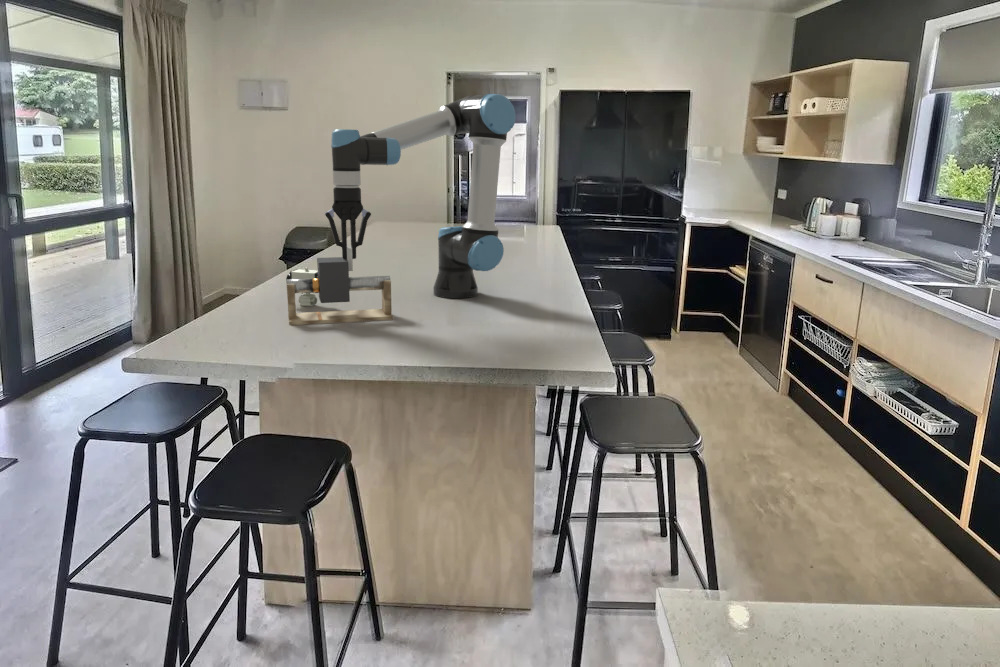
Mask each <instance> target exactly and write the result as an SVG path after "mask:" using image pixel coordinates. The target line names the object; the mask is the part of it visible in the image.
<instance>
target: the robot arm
mask: <svg viewBox="0 0 1000 667" xmlns="http://www.w3.org/2000/svg"><path fill="white" fill-rule="evenodd" d="M516 116H517V115H516V111H515V107H514V105H513V103H512V102H511V101H510V99H509V98H508V97H507V96H505V95H503V94H498V93H486V94H485V93H484V94H471V95H468V96H465V97H463V98H460V99H456V100H455V101H453V102H451V103H448V104H444V105H442V106H440V107H439V108H438V110H437V111H435V112H432V113H428V114H424V115H421V116H419V117H416V118H415V117H414V118H413V119H409V120H406V121H404V122H400V123H396V124H394V125H391V126H388V127H386V128H382V129H378V130H376V131H375V130H374V131H373V132H370V133H366V134H363V135H360V131H359V129H349V128H348V129H344V128H343V129H342V128H339V129H338V128H337V129H336V128H335V129H333V130H332V133H331V147H330V148H331V158H332V159H331V160H332V182H333V183H332V184H333V186H334V187H333V204H332V207H331V209H329V210H328V211H325V212H324V216H326V218H327V220H328V223H329V226H330V229H331V232H332V236H333V240H334V243H335V245H336V246H337V247H340V248H341V251H342V252H341V255H342V256H341V257H343V259H347V261H348V266H349V272H353V271H354V270H353V269H354V268H353V266H354V265H353V264H354V263H353V262H354V261H353V260H356V259H357V248H358V247H359V246H363V244H364V238H365V234H366V228H367V226H368V225H367V224H368V220H369V219H370V218H371V216H372V212H370V211H368V210H366V209H365V208H364V205H363V204H362V189H361V187H360V186H362V185H361V184H362V182H361V166H363V165H364V166H366V165H372V166H386V167H387V166H393V165H396V164H398V163H399V162H400V159H401V156H402V155H401V153H402V150H405V149H409V148H410V147H414V146H417V145H419V144H422V143H425V142H429V141H431V140H435V139H437V138H438V139H439V138H441V137H444V136H448V137H453V136H457V135H460V134H469V135H468V138H469V140H470V142H472V146H473V148H472V160H471V173H470V185H469V197H468V198H469V199H468V207H467V208H468V210H467V211H468V212H467V221H466V222H465V223H464V224H463V225H461V226H444V227H440V228H439V230H438V237H437V240H438V243H437V244H438V246H437V247H438V272H437V274H436V278H435V281H434V283H433V284H434V285H433V295H434V296H436V297H439V298H447V299H467V298H472V297H473V298H474V297H476V296H477V295H478V294H479V292H478V291H479V288H478V283H477V281H476V277H475V274H474V271H481V272H489V271H491V270H493V269H495V268H496V267H497V266H498V265H499V264H500V263H501V261H502V259H503V256H504V251H505V250H504V249H505V248H504V245H503V243H502V241H501V239H500V238H499V228H498V227H497V225H496V224H495V221H496V207H497V197H498V194H497V193H498V184H499V175H500V174H499V173H500V162H501V160H500V159H501V151H502V150H501V149H502V147H503V145H504V144H505V143H506V142H507V135H508V133H509V132H511V129H512V128H514V125H515V123H516ZM335 214H336V216H337V218H338V219H339V220H340V229H341V230H340V231H341V232H340V233H341V241H340V237H339V233H338V231H337V227H336V226H337V225H336V224H335V220H334V217H335ZM360 215H361V217H362V219H361V223H360V227H359V232H358V237H357V230H356V228H357V227H356V225H357V223H356V220H357V219H358V217H359V216H360ZM347 221H349V225H350V228H349V229H350V246H348V240H347V238H348V236H347V233H348V232H347Z"/></svg>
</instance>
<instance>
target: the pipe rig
mask: <svg viewBox="0 0 1000 667" xmlns="http://www.w3.org/2000/svg"><path fill="white" fill-rule="evenodd" d="M285 281H286V280H285ZM286 282H287V281H286ZM286 293H287V294H286V295H287V298H286V299H287V312H288V313H287V316H288V325H289V326H296V325H297V326H299V325H300V326H301V325H315V324H318V325H319V324H333V323H334V324H337V323H353V322H371V321H373V322H374V321H388V320H390V321H392V320H394V316H393V314H392V312H393V310H392V280H391V279H390V280H384V289H383V290H381V307H382V308H370V309H353V310H334V311H333V310H331V311H312V312H311V311H309V312H297V309H296V307H297V306H296V293H295V287H294V284H287V283H286Z"/></svg>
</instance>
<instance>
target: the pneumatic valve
mask: <svg viewBox="0 0 1000 667" xmlns="http://www.w3.org/2000/svg"><path fill="white" fill-rule="evenodd" d="M311 278H318V269H317V270H316V269H309V267H304V269H302V268H301V269H299V268H296V269H294V270H290V271H289V273H287V275H286V278H285V280H286V279H311ZM285 284H287V282H286V283H285ZM316 294H319V292H313V293H300V295H299V297H298V303H299V305H300V306H301V307H305V308H307V307H314V306H315V305H317V303H318V298H317V297H316Z"/></svg>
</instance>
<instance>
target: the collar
mask: <svg viewBox="0 0 1000 667" xmlns="http://www.w3.org/2000/svg"><path fill="white" fill-rule="evenodd" d="M316 263H317V270H318V278H319V280H320V292H319V293H318V298H319V302H320V304H329V303H332V304H333V303H350V302H351V300H350V298H351V297H350V296H351V295H350V291H349V277H350V271H349V266H348V261H347V259H343V257H342V256H341V257H340V256H335V257H334V256H333V257H332V256H331V257H316Z"/></svg>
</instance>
